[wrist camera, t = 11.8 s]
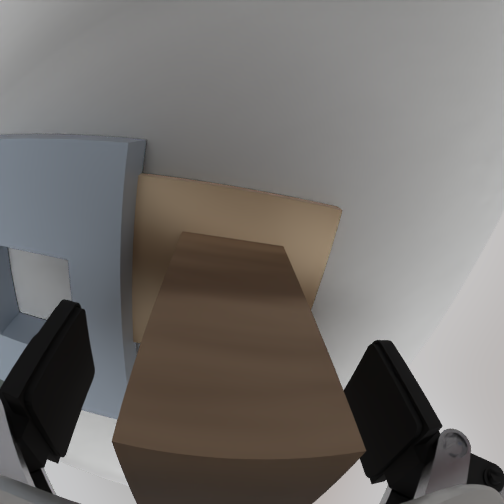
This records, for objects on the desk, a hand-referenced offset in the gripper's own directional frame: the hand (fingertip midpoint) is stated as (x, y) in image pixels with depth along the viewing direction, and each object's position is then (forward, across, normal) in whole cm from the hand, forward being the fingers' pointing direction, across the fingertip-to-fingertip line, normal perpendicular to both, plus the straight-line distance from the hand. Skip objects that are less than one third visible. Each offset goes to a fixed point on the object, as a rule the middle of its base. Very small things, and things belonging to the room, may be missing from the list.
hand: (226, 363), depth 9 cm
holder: (+6, +10, +2) cm, 12 cm away
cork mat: (+6, 0, 0) cm, 6 cm away
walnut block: (+6, 0, 0) cm, 6 cm away
